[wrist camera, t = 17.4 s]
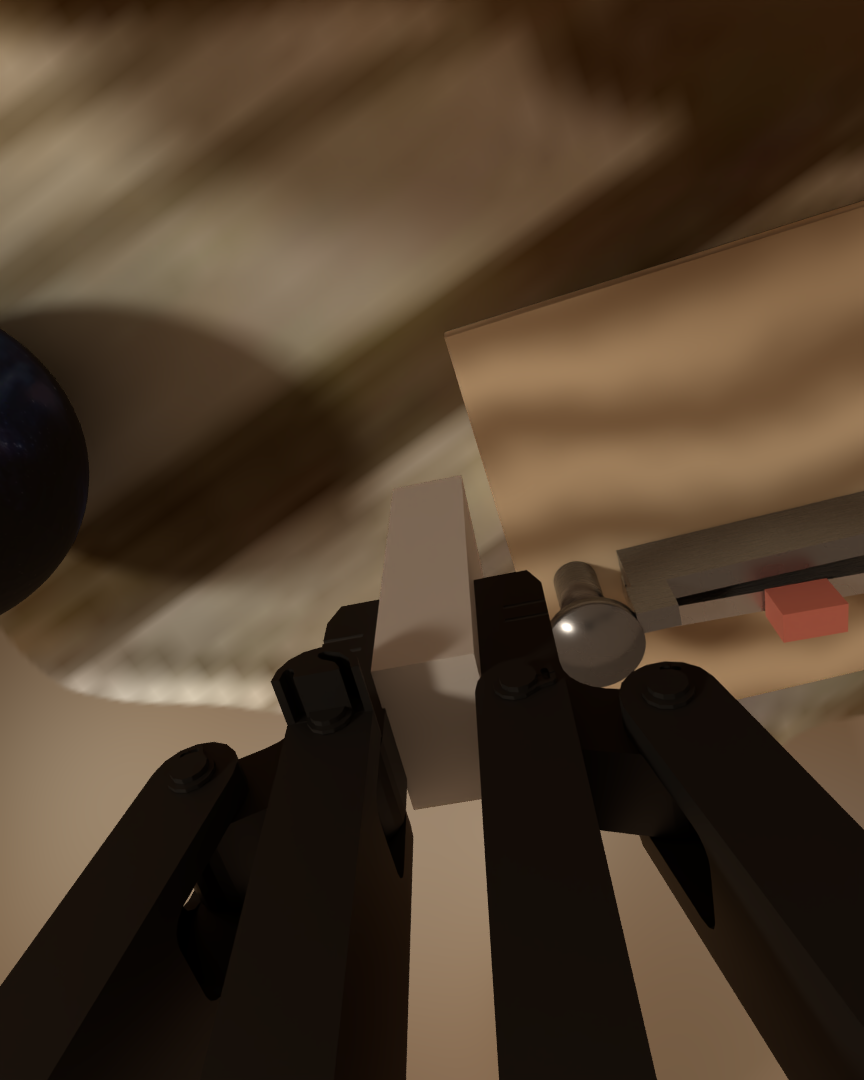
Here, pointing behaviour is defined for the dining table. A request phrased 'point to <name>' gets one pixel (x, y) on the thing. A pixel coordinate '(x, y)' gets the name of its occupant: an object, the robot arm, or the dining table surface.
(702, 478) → the board
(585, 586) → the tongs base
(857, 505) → the grey lever with knob
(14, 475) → the decorative sphere
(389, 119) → the dining table surface
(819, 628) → the tab
